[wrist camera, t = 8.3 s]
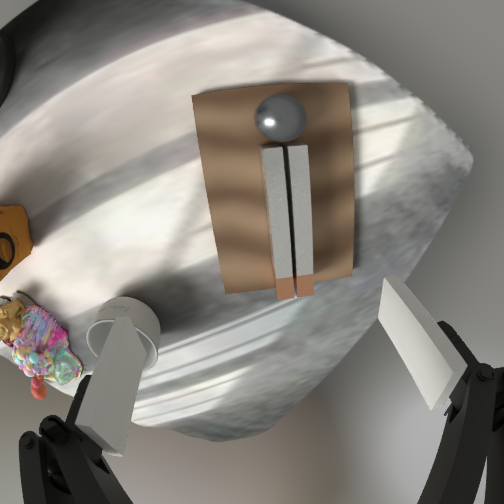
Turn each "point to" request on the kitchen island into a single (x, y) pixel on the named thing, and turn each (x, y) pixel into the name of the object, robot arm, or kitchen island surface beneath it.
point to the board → (252, 187)
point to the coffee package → (13, 238)
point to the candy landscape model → (37, 343)
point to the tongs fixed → (278, 180)
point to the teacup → (140, 319)
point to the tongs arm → (299, 216)
